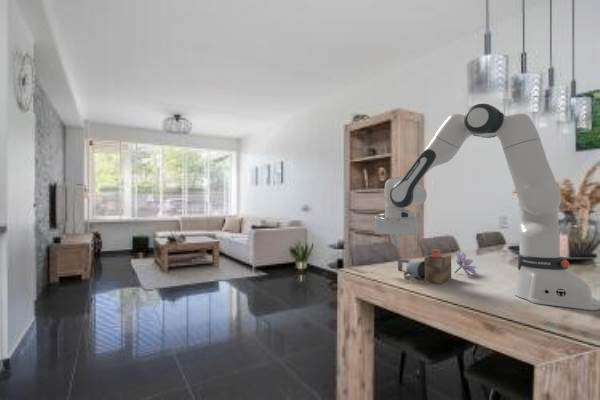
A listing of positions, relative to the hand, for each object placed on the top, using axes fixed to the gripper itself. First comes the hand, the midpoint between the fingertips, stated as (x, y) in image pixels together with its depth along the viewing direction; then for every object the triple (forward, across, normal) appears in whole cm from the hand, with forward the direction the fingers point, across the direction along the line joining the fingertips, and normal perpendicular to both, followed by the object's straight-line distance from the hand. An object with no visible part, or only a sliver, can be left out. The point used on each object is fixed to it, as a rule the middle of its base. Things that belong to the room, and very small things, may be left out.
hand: (396, 244), depth 147 cm
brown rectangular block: (+14, +18, 0) cm, 23 cm away
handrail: (+14, +6, +8) cm, 17 cm away
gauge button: (+7, +18, -3) cm, 20 cm away
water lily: (+14, +24, +18) cm, 33 cm away
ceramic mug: (+14, +9, -2) cm, 17 cm away
